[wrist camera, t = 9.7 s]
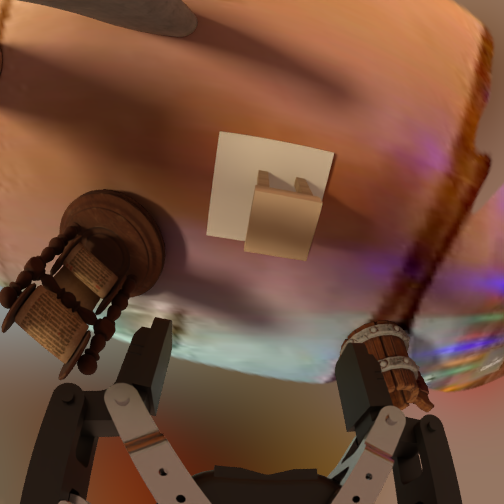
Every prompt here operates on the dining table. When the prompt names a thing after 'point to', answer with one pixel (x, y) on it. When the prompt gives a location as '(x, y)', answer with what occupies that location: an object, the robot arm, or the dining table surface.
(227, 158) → the mat
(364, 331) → the mug
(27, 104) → the dining table surface
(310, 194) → the stool
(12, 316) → the scroll
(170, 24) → the hip flask
